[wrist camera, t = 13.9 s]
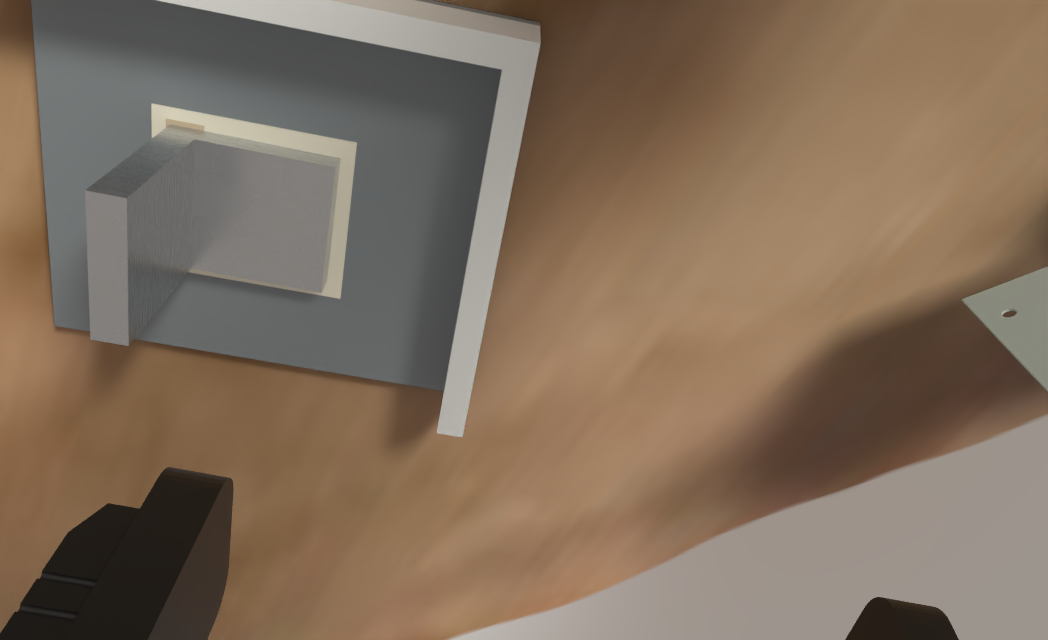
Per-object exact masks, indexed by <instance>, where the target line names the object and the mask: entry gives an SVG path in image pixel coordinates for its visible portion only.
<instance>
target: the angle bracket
mask: <svg viewBox="0 0 1048 640" xmlns="http://www.w3.org/2000/svg"><path fill="white" fill-rule="evenodd" d="M340 160H341V158H337V157H332V156H327V155H322V154H317V153H312V152H307V151H302V150H297V149H292V148H287V147H282V146H277V145H272V144H267V143H262V142H257V141H252V140H247V139H242V138H237V137H232V136H227V135H222V134H217V133H212V132H207V131H202V130H197V129H192V128H187V127H182V126H176V125H171V124H170V125H169V126H168V127H166V128H165V129H164V130H162V131H161V132H160V133H158V134H157V135H156V136H155V137H153V138H152V139H151V140H149V141H148V142H147V143H146V144H144V145H143V146H142V147H140V148H139V149H138V150H136V151H135V152H134V153H133V154H131V155H130V156H129V157H127V158H126V159H125V160H124V161H122V162H121V163H120V164H118V165H117V166H116V167H114V168H113V169H112V170H111V171H109V172H108V173H107V174H105V175H104V176H103V177H102V178H100V179H99V180H98V181H96V182H95V183H94V184H92V185H91V186H90V187H89V188H87V189H86V190H85V205H86V233H87V260H88V288H89V315H90V339H91V340H96V341H102V342H108V343H113V344H119V345H125V346H129V345H130V344H131V343H132V341H133V340H134V339H135V338H136V336H137V335H138V334H139V333H140V331H141V330H142V329H143V328H144V326H145V325H146V324H147V323H148V321H149V320H150V319H151V318H152V316H153V315H154V314H155V313H156V312H157V310H158V309H159V308H160V307H161V305H162V304H163V303H164V302H165V300H166V299H167V298H168V297H169V295H170V294H171V293H172V292H173V290H174V289H175V288H176V287H177V285H178V284H179V283H180V282H181V280H182V279H183V278H184V277H185V275H186V274H187V273H188V272H189V270H190V269H195V270H201V271H206V272H211V273H217V274H222V275H228V276H233V277H238V278H244V279H249V280H255V281H260V282H265V283H271V284H276V285H282V286H287V287H292V288H298V289H303V290H309V291H314V292H319V293H322V291H323V289H324V287H325V285H326V283H327V278H328V269H329V260H330V251H331V242H332V233H333V224H334V215H335V206H336V197H337V188H338V179H339V170H340Z"/></svg>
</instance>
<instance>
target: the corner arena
mask: <svg viewBox="0 0 1048 640" xmlns="http://www.w3.org/2000/svg"><path fill="white" fill-rule="evenodd" d="M31 8H32V22H33V36H34V49H35V63H36V77H37V90H38V104H39V118H40V131H41V145H42V159H43V172H44V186H45V200H46V214H47V227H48V241H49V255H50V268H51V282H52V296H53V309H54V323H55V326H59V327H65V328H71V329H77V330H83V331H89V332H90V315H89V288H88V260H87V233H86V205H85V190H86V189H87V188H89V187H90V186H91V185H92V184H94V183H95V182H96V181H98V180H99V179H100V178H102V177H103V176H104V175H105V174H107V173H108V172H109V171H111V170H112V169H113V168H114V167H116V166H117V165H118V164H120V163H121V162H122V161H124V160H125V159H126V158H127V157H129V156H130V155H131V154H133V153H134V152H135V151H136V150H138V149H139V148H140V147H142V146H143V145H144V144H146V143H147V142H148V141H149V140H151V139H152V138H153V137H155V136H156V135H157V134H158V133H160V132H161V131H162V130H164V129H165V128H166V127H168V126H169V125H170V124H171V125H176V126H182V127H187V128H192V129H197V130H202V131H207V132H212V133H217V134H222V135H227V136H232V137H237V138H242V139H247V140H252V141H257V142H262V143H267V144H272V145H277V146H282V147H287V148H292V149H297V150H302V151H307V152H312V153H317V154H322V155H327V156H332V157H337V158H341V160H340V170H339V179H338V188H337V197H336V206H335V215H334V224H333V233H332V242H331V251H330V260H329V269H328V278H327V283H326V285H325V287H324V289H323V291H322V293H319V292H314V291H309V290H303V289H298V288H292V287H287V286H282V285H276V284H271V283H265V282H260V281H255V280H249V279H244V278H238V277H233V276H228V275H222V274H217V273H211V272H206V271H201V270H195V269H190V270H189V272H188V273H187V274H186V275H185V277H184V278H183V279H182V280H181V282H180V283H179V284H178V285H177V287H176V288H175V289H174V290H173V292H172V293H171V294H170V295H169V297H168V298H167V299H166V300H165V302H164V303H163V304H162V305H161V307H160V308H159V309H158V310H157V312H156V313H155V314H154V315H153V316H152V318H151V319H150V320H149V321H148V323H147V324H146V325H145V326H144V328H143V329H142V330H141V331H140V333H139V334H138V335H137V336H136V338H135V339H136V340H142V341H148V342H154V343H160V344H166V345H172V346H178V347H184V348H190V349H196V350H201V351H207V352H213V353H219V354H225V355H231V356H237V357H243V358H249V359H255V360H261V361H267V362H273V363H279V364H285V365H290V366H296V367H302V368H308V369H314V370H320V371H326V372H332V373H338V374H344V375H350V376H356V377H362V378H368V379H374V380H380V381H385V382H391V383H397V384H403V385H409V386H415V387H421V388H427V389H433V390H439V391H444V392H443V398H442V404H441V410H440V416H439V422H438V428H437V433H439V434H445V435H451V436H457V437H463V432H464V427H465V421H466V416H467V411H468V406H469V401H470V396H471V391H472V386H473V381H474V376H475V371H476V366H477V361H478V356H479V351H480V346H481V341H482V336H483V331H484V326H485V321H486V316H487V311H488V306H489V301H490V296H491V291H492V286H493V281H494V276H495V271H496V266H497V261H498V255H499V250H500V245H501V240H502V235H503V230H504V225H505V220H506V215H507V210H508V205H509V200H510V195H511V190H512V185H513V180H514V175H515V170H516V165H517V160H518V155H519V150H520V145H521V140H522V135H523V130H524V125H525V120H526V115H527V110H528V105H529V100H530V95H531V89H532V84H533V79H534V74H535V69H536V64H537V59H538V54H539V49H540V44H541V38H540V22H536V21H531V20H526V19H521V18H516V17H511V16H507V15H502V14H497V13H492V12H487V11H482V10H477V9H473V8H468V7H463V6H458V5H453V4H448V3H443V2H439V1H434V0H31Z"/></svg>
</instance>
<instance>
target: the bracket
mask: <svg viewBox="0 0 1048 640" xmlns="http://www.w3.org/2000/svg"><path fill="white" fill-rule="evenodd" d="M962 302H963V303H964V304H965V305H966V306H967V307H968V308H969V309H970V310H971V311H972V313H973V314H974V315H975V316H976V317H977V318H978V319H979V320H980V321H981V322H982V323H983V324H984V325H985V326H986V327H987V329H988V330H989V331H990V332H991V333H992V334H993V335H994V336H995V337H996V338H997V339H998V340H999V341H1000V342H1001V343H1002V344H1003V346H1004V347H1005V348H1006V349H1007V350H1008V351H1009V352H1010V353H1011V354H1012V355H1013V356H1014V357H1015V358H1016V359H1017V360H1018V362H1019V363H1020V364H1021V365H1022V366H1023V367H1024V368H1025V369H1026V370H1027V371H1028V372H1029V373H1030V374H1031V375H1032V376H1033V377H1034V379H1035V380H1036V381H1037V382H1038V383H1039V384H1040V385H1041V386H1042V387H1043V388H1044V389H1045V390H1046V391H1047V392H1048V267H1045V268H1042V269H1040V270H1037V271H1034V272H1032V273H1029V274H1027V275H1024V276H1021V277H1019V278H1016V279H1013V280H1011V281H1008V282H1006V283H1003V284H1000V285H998V286H995V287H992V288H990V289H987V290H985V291H982V292H979V293H977V294H974V295H971V296H969V297H966V298H964V299H962ZM1008 311H1015V312H1017V314H1016V315H1015V316H1012V317H1004V316H1002V315H1003V314H1004V313H1005V312H1008Z"/></svg>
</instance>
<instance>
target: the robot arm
mask: <svg viewBox="0 0 1048 640" xmlns="http://www.w3.org/2000/svg"><path fill="white" fill-rule="evenodd" d="M232 503H233V481H232V479H231V478H227V477H221V476H216V475H210V474H205V473H199V472H193V471H188V470H182V469H177V468H171V467H168V468H166V469H165V470H164V471H163V472H162V473H161V474H160V476H159V477H158V479H157V481H156V482H155V484H154V486H153V488H152V489H151V491H150V493H149V494H148V496H147V498H146V499H145V501H144V503H143V505H142V506H141V508H140V509H138V508H132V507H126V506H121V505H115V504H109V503H108V504H107V505H105V506H104V507H103V508H101V509H100V510H98V511H97V512H96V513H94V514H93V515H92V516H90V517H89V518H87V519H86V520H85V521H83V522H82V523H81V524H79V525H78V526H76V527H75V528H74V529H72V530H71V531H70V532H68V533H67V535H66V536H65V538H64V539H63V541H62V542H61V544H60V545H59V547H58V548H57V550H56V551H55V553H54V554H53V556H52V557H51V559H50V560H49V562H48V563H47V565H46V566H45V568H44V569H43V571H42V575H41V577H40V579H37V580H36V581H35V582H34V584H33V585H32V587H31V588H30V590H29V591H28V593H27V594H26V596H25V597H24V599H23V600H22V602H21V605H20V609H19V611H18V612H14V614H13V615H12V617H11V618H10V620H9V621H8V623H7V624H6V626H5V627H4V629H3V630H2V632H1V633H0V640H207V639H208V636H209V634H210V632H211V629H212V627H213V624H214V622H215V619H216V617H217V614H218V611H219V608H220V605H221V601H222V598H223V594H224V590H225V585H226V581H227V575H228V568H229V553H230V536H231V520H232ZM846 640H959V639H958V637H957V635H956V633H955V631H954V629H953V627H952V625H951V623H950V621H949V619H948V618H947V616H946V615H945V614H944V613H943V612H942V611H941V610H940V609H938V608H936V607H932V606H926V605H921V604H915V603H909V602H904V601H898V600H893V599H887V598H881V597H877V598H874V599H872V600H871V601H870V602H869V603H868V604H867V605H866V606H865V608H864V610H863V611H862V613H861V615H860V616H859V618H858V619H857V621H856V623H855V624H854V626H853V628H852V630H851V631H850V633H849V634H848V636H847V638H846Z"/></svg>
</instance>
